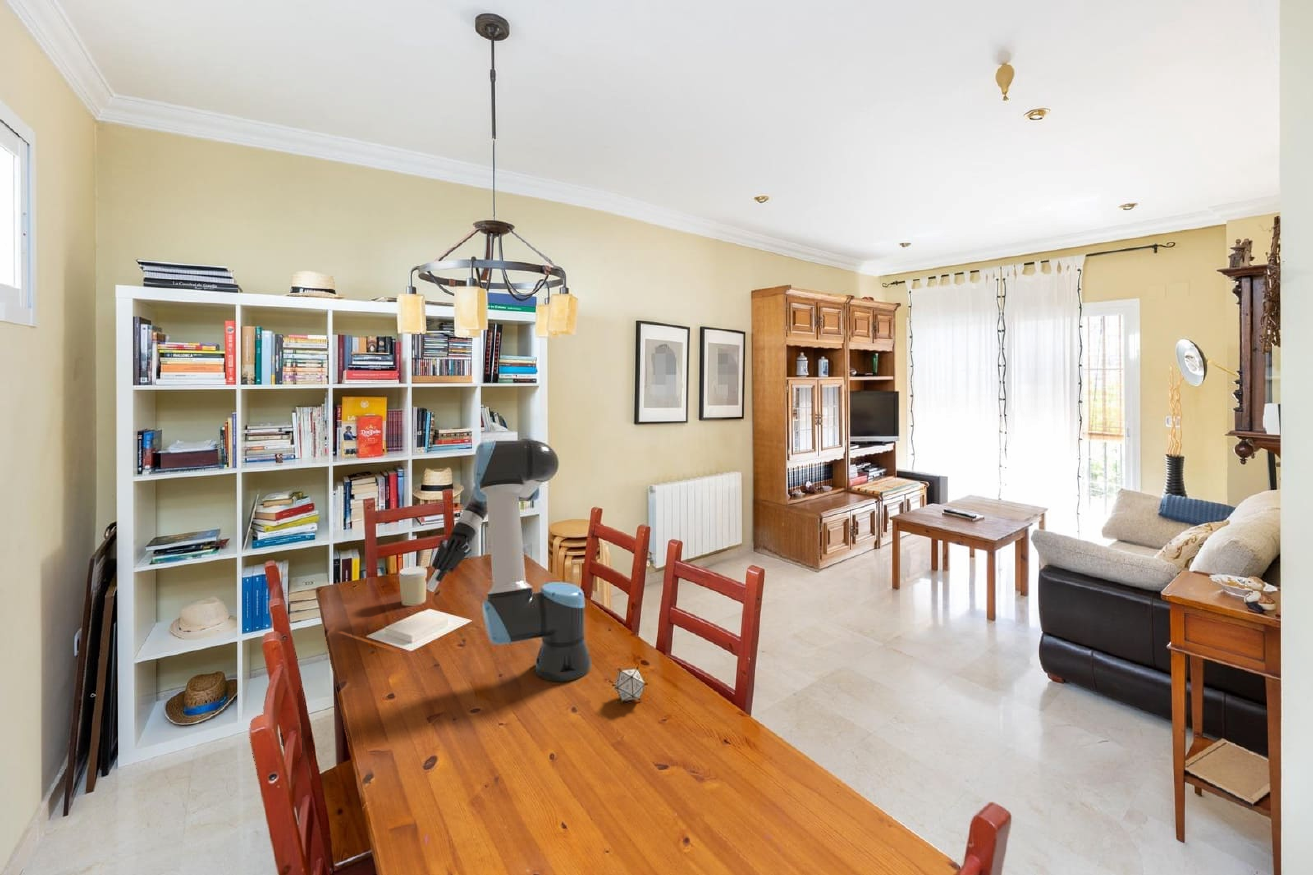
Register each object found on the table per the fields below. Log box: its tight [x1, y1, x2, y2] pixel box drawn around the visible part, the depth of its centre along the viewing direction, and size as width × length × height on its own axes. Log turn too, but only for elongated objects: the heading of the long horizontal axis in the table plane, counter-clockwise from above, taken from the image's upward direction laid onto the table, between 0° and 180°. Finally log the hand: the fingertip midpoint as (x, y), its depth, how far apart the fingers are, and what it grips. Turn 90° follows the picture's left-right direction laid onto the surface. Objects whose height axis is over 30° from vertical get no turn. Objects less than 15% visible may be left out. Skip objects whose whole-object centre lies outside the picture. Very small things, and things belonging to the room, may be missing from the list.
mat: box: [365, 608, 473, 652], centre depth 180 cm, size 20×24×1 cm
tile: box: [384, 610, 449, 642], centre depth 179 cm, size 12×2×14 cm
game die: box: [611, 665, 649, 704], centre depth 142 cm, size 9×8×10 cm
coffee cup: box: [398, 565, 428, 607], centre depth 201 cm, size 9×9×12 cm
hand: (429, 589), depth 183 cm, fingers closed
